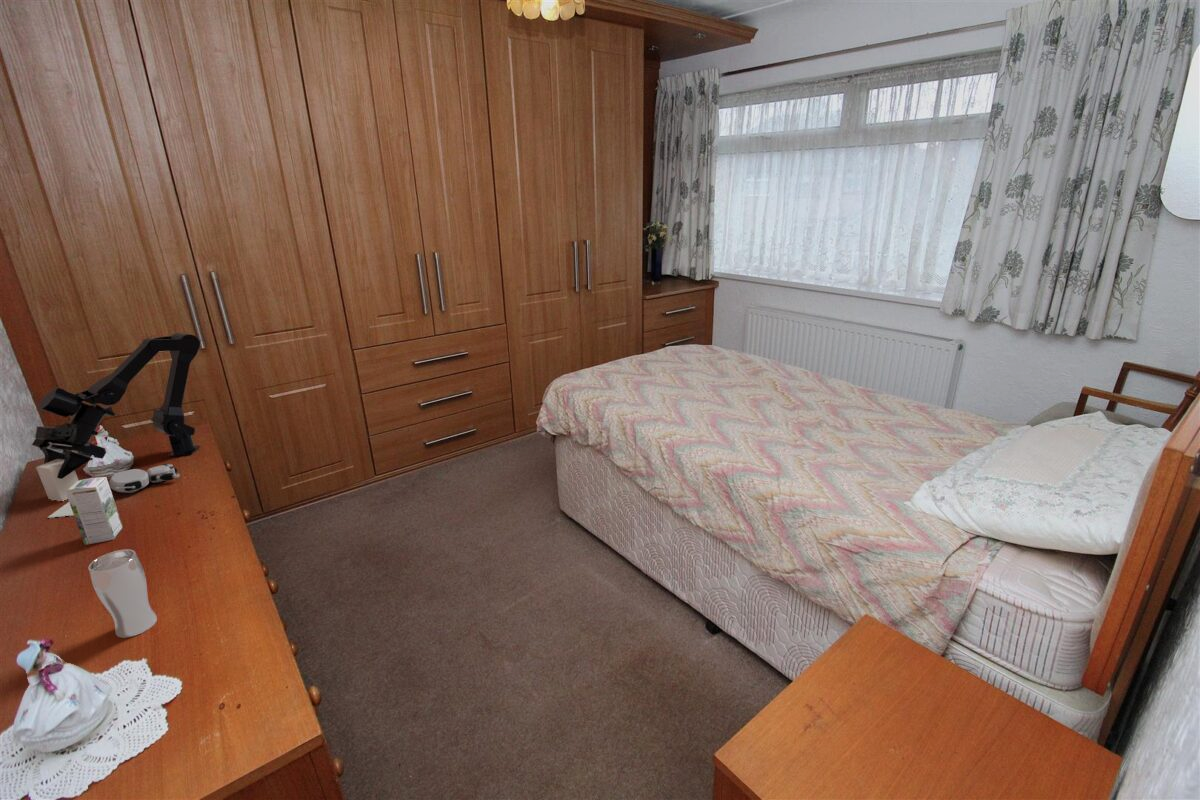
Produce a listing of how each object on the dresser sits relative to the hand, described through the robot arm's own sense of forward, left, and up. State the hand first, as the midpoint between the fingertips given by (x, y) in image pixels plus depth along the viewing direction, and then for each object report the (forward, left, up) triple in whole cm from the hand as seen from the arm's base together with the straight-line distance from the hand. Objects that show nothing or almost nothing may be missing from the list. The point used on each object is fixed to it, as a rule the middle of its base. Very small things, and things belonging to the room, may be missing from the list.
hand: (52, 477), depth 145 cm
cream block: (-1, +1, -7) cm, 7 cm away
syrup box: (+24, +24, -7) cm, 34 cm away
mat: (+7, +8, -7) cm, 13 cm away
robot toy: (-4, +19, -7) cm, 20 cm away
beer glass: (+60, +49, -7) cm, 77 cm away
